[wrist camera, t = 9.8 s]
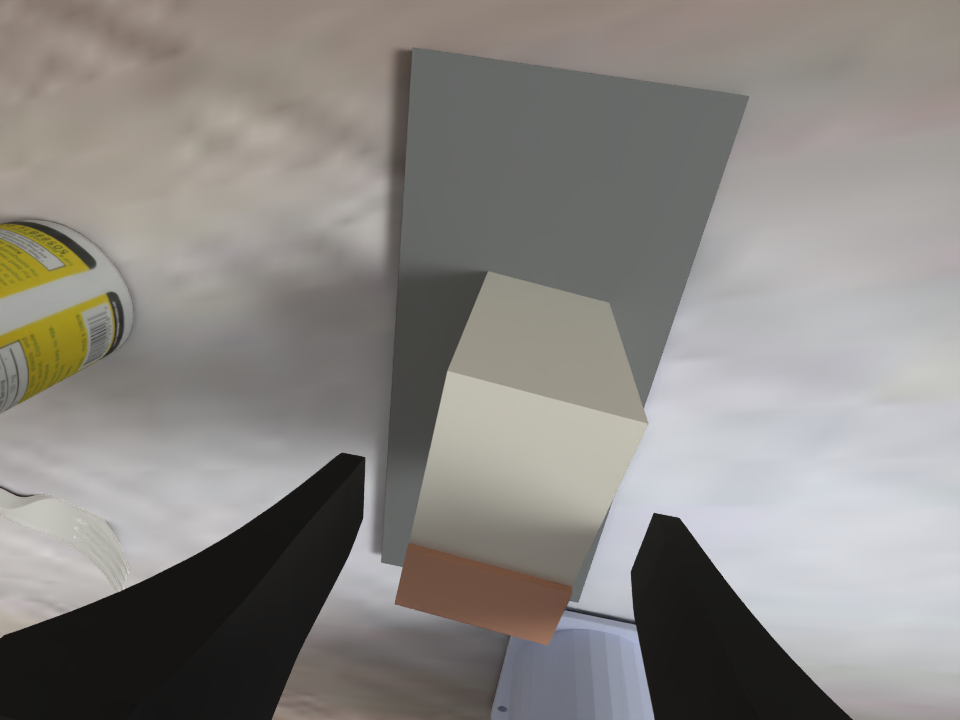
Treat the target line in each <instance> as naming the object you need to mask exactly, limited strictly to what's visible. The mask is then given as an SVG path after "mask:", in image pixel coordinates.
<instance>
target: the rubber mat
mask: <svg viewBox="0 0 960 720" xmlns="http://www.w3.org/2000/svg"><path fill="white" fill-rule="evenodd" d="M748 99H749V96H744V95H737V94H730V93H723V92H716V91H709V90H703V89H696V88H689V87H682V86H675V85H668V84H661V83H654V82H647V81H640V80H633V79H627V78H620V77H613V76H606V75H599V74H592V73H585V72H578V71H571V70H564V69H557V68H551V67H544V66H537V65H530V64H523V63H516V62H509V61H502V60H495V59H488V58H481V57H475V56H468V55H461V54H454V53H447V52H440V51H433V50H426V49H419V48H412V62H411V79H410V95H409V112H408V128H407V145H406V161H405V178H404V194H403V211H402V227H401V244H400V261H399V277H398V294H397V310H396V327H395V343H394V360H393V376H392V393H391V409H390V426H389V443H388V459H387V476H386V492H385V509H384V525H383V542H382V558H381V563H386V564H391V565H396V566H401V567H403V564H404V560H405V555H406V551H407V547H408V544H409V541H410V536H411V532H412V527H413V523H414V518H415V514H416V509H417V505H418V500H419V496H420V491H421V487H422V482H423V478H424V473H425V469H426V465H427V460H428V456H429V451H430V447H431V442H432V438H433V433H434V429H435V424H436V420H437V415H438V411H439V406H440V402H441V397H442V393H443V389H444V384H445V380H446V375H447V371H448V368H449V366H450V363H451V361H452V358H453V356H454V354H455V351H456V349H457V346H458V344H459V341H460V339H461V336H462V334H463V331H464V329H465V327H466V324H467V322H468V319H469V317H470V314H471V312H472V309H473V307H474V305H475V302H476V300H477V297H478V295H479V292H480V290H481V287H482V285H483V282H484V280H485V278H486V275H487V273H488V271H489V272H493V273H497V274H501V275H505V276H508V277H512V278H516V279H520V280H524V281H528V282H531V283H535V284H539V285H543V286H547V287H551V288H554V289H558V290H562V291H566V292H570V293H574V294H577V295H581V296H585V297H589V298H593V299H597V300H601V301H604V302H608V303H609V304H610V307H611V310H612V313H613V316H614V319H615V322H616V325H617V328H618V331H619V334H620V338H621V341H622V344H623V347H624V350H625V353H626V356H627V359H628V362H629V365H630V368H631V372H632V375H633V378H634V381H635V384H636V387H637V390H638V393H639V396H640V399H641V402H642V406H643V409H644V406H645V403H646V400H647V397H648V395H649V392H650V389H651V386H652V383H653V380H654V377H655V374H656V371H657V368H658V365H659V362H660V359H661V356H662V353H663V350H664V347H665V344H666V341H667V338H668V335H669V332H670V329H671V327H672V324H673V321H674V318H675V315H676V312H677V309H678V306H679V303H680V300H681V297H682V294H683V291H684V288H685V285H686V282H687V279H688V276H689V273H690V270H691V267H692V264H693V261H694V259H695V256H696V253H697V250H698V247H699V244H700V241H701V238H702V235H703V232H704V229H705V226H706V223H707V220H708V217H709V214H710V211H711V208H712V205H713V202H714V199H715V196H716V193H717V190H718V188H719V185H720V182H721V179H722V176H723V173H724V170H725V167H726V164H727V161H728V158H729V155H730V152H731V149H732V146H733V143H734V140H735V137H736V134H737V131H738V128H739V125H740V122H741V120H742V117H743V114H744V111H745V108H746V105H747V102H748ZM611 504H612V503H611ZM610 507H611V505H610ZM610 507H609V509H608V511H607V513H606V515H605V518H604V520H603V522H602V524H601V526H600V528H599V530H598V533H597V535H596V537H595V539H594V541H593V543H592V545H591V547H590V550H589V552H588V554H587V556H586V558H585V560H584V562H583V565H582V567H581V569H580V571H579V573H578V575H577V577H576V579H575V582H574V584H573V586H572V596H571V598H570V600H569V601H573V602H579V599H580V596H581V593H582V590H583V587H584V584H585V581H586V578H587V575H588V572H589V569H590V566H591V563H592V560H593V557H594V554H595V551H596V548H597V545H598V542H599V539H600V536H601V534H602V531H603V528H604V525H605V522H606V519H607V516H608V513H609V510H610Z"/></svg>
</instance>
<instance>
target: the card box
mask: <svg viewBox="0 0 960 720" xmlns="http://www.w3.org/2000/svg"><path fill="white" fill-rule="evenodd" d="M647 426H648V421H647V418H646V415H645V412H644V409H643V406H642V402H641V399H640V396H639V393H638V390H637V387H636V384H635V381H634V378H633V375H632V372H631V368H630V365H629V362H628V359H627V356H626V353H625V350H624V347H623V344H622V341H621V338H620V334H619V331H618V328H617V325H616V322H615V319H614V316H613V313H612V310H611V307H610V304H609V303H608V302H604V301H601V300H597V299H593V298H589V297H585V296H581V295H577V294H574V293H570V292H566V291H562V290H558V289H554V288H551V287H547V286H543V285H539V284H535V283H531V282H528V281H524V280H520V279H516V278H512V277H508V276H505V275H501V274H497V273H493V272H489V271H488V273H487V275H486V278H485V280H484V282H483V285H482V287H481V290H480V292H479V295H478V297H477V300H476V302H475V305H474V307H473V309H472V312H471V314H470V317H469V319H468V322H467V324H466V327H465V329H464V331H463V334H462V336H461V339H460V341H459V344H458V346H457V349H456V351H455V354H454V356H453V358H452V361H451V363H450V366H449V368H448V371H447V375H446V380H445V384H444V389H443V393H442V397H441V402H440V406H439V411H438V415H437V420H436V424H435V429H434V433H433V438H432V442H431V447H430V451H429V456H428V460H427V465H426V469H425V473H424V478H423V482H422V487H421V491H420V496H419V500H418V505H417V509H416V514H415V518H414V523H413V527H412V532H411V536H410V541H409V544H408V547H407V551H406V555H405V560H404V564H403V569H402V573H401V578H400V582H399V587H398V591H397V596H396V600H395V604H396V605H400V606H404V607H407V608H411V609H415V610H418V611H422V612H426V613H429V614H433V615H437V616H441V617H444V618H448V619H452V620H455V621H459V622H463V623H466V624H470V625H474V626H478V627H481V628H485V629H489V630H492V631H496V632H500V633H503V634H507V635H511V636H514V637H518V638H522V639H526V640H529V641H533V642H537V643H540V644H544V645H549V642H550V640H551V638H552V636H553V634H554V632H555V630H556V628H557V626H558V623H559V621H560V619H561V617H562V615H563V613H564V611H565V609H566V607H567V604H568V602H569V600H570V598H571V596H572V586H573V584H574V582H575V579H576V577H577V575H578V573H579V571H580V569H581V567H582V565H583V562H584V560H585V558H586V556H587V554H588V552H589V550H590V547H591V545H592V543H593V541H594V539H595V537H596V535H597V533H598V530H599V528H600V526H601V524H602V522H603V520H604V518H605V515H606V513H607V511H608V509H609V507H610V505H611V503H612V501H613V498H614V496H615V494H616V492H617V490H618V488H619V486H620V483H621V481H622V479H623V477H624V475H625V473H626V471H627V469H628V466H629V464H630V462H631V460H632V458H633V456H634V454H635V451H636V449H637V447H638V445H639V443H640V441H641V439H642V437H643V434H644V432H645V430H646V428H647Z"/></svg>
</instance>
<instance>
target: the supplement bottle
mask: <svg viewBox="0 0 960 720" xmlns="http://www.w3.org/2000/svg"><path fill="white" fill-rule="evenodd" d="M132 324H133V305H132V300H131V297H130V294H129V291H128V288H127V286H126V284H125V282H124V280H123V278H122V276H121V275H120V273H119V272H118V270H117V269H116V267H115V266H114V265H113V263H112V262H111V261H110V259H109V258H108V257H107V256H106V255H105V254H104V253H103V252H102V251H101V250H100V249H99V248H98V247H97V246H95V245H94V244H93V243H92V242H91V241H89V240H88V239H87V238H85V237H84V236H82V235H81V234H79V233H77V232H76V231H74V230H72V229H70V228H67V227H65V226H63V225H60V224H57V223H53V222H49V221H42V220H23V221H15V222H9V223H4V224H0V413H2V412H4V411H6V410H8V409H10V408H12V407H14V406H15V405H17V404H19V403H21V402H23V401H25V400H27V399H29V398H30V397H32V396H34V395H36V394H38V393H40V392H41V391H43V390H45V389H47V388H49V387H51V386H53V385H54V384H56V383H58V382H60V381H62V380H64V379H65V378H67V377H69V376H71V375H73V374H75V373H77V372H79V371H80V370H82V369H84V368H86V367H88V366H90V365H91V364H93V363H95V362H96V361H98V360H100V359H102V358H104V357H106V356H107V355H109V354H110V353H112V352H113V351H115V350H116V349H118V348H119V347H120V346H121V345H122V344H123V343H124V342H125V340H126V339H127V337H128V336H129V334H130V331H131V328H132Z"/></svg>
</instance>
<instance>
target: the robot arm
mask: <svg viewBox="0 0 960 720" xmlns="http://www.w3.org/2000/svg"><path fill="white" fill-rule="evenodd" d="M364 482H365V457H362V456H357V455H352V454H347V453H341V454H339V455H338V456H336V457H335V458H334V459H333V460H331V461H330V462H329V463H328V464H326V465H325V466H324V467H323V468H321V469H320V470H319V471H318V472H316V473H315V474H314V475H313V476H311V477H310V478H309V479H308V480H306V481H305V482H304V483H303V484H301V485H300V486H299V487H297V488H296V489H295V490H293V491H292V492H291V493H289V494H288V495H287V496H285V497H284V498H283V499H281V500H280V501H279V502H277V503H276V504H275V505H273V506H272V507H270V508H269V509H268V510H266V511H265V512H263V513H262V514H260V515H259V516H257V517H256V518H254V519H253V520H251V521H250V522H248V523H247V524H246V525H244V526H243V527H241V528H240V529H238V530H236V531H235V532H233V533H232V534H230V535H228V536H227V537H225V538H224V539H222V540H220V541H219V542H217V543H215V544H213V545H212V546H210V547H208V548H206V549H205V550H203V551H201V552H200V553H198V554H196V555H194V556H192V557H190V558H188V559H186V560H184V561H182V562H181V563H179V564H177V565H175V566H173V567H171V568H169V569H167V570H165V571H163V572H161V573H159V574H157V575H155V576H153V577H151V578H149V579H146V580H144V581H142V582H140V583H138V584H136V585H133V586H131V587H129V588H127V589H124V590H122V591H120V592H118V593H115V594H113V595H110V596H108V597H106V598H103V599H101V600H98V601H96V602H94V603H91V604H89V605H86V606H84V607H81V608H79V609H76V610H73V611H71V612H68V613H65V614H63V615H60V616H57V617H54V618H52V619H49V620H46V621H43V622H41V623H38V624H35V625H32V626H30V627H27V628H24V629H21V630H18V631H15V632H12V633H9V634H7V635H4V636H3V637H2V638H0V720H272V717H273V715H274V712H275V709H276V707H277V704H278V702H279V700H280V697H281V695H282V692H283V690H284V687H285V685H286V683H287V680H288V678H289V675H290V673H291V670H292V668H293V666H294V663H295V661H296V658H297V656H298V654H299V652H300V650H301V648H302V646H303V644H304V642H305V639H306V638H307V636H308V634H309V632H310V630H311V628H312V626H313V624H314V622H315V620H316V618H317V616H318V615H319V613H320V611H321V609H322V607H323V605H324V603H325V601H326V599H327V597H328V595H329V593H330V592H331V590H332V588H333V586H334V584H335V582H336V580H337V578H338V576H339V574H340V572H341V570H342V568H343V566H344V564H345V562H346V560H347V558H348V557H349V554H350V552H351V549H352V547H353V544H354V541H355V539H356V536H357V533H358V531H359V528H360V525H361V523H362V520H363V509H364ZM631 583H632V598H633V610H634V617H635V623H636V625H634V624H629V623H624V622H620V621H615V620H610V619H605V618H600V617H595V616H590V615H585V614H580V613H576V612H571V611H566V610H565V611H564V613H563V615H562V617H561V619H560V621H559V623H558V626H557V628H556V630H555V632H554V634H553V636H552V638H551V640H550V642H549V645H544V644H540V643H537V642H533V641H529V640H526V639H522V638H518V637H514V636H511V635H510V639H509V643H508V647H507V651H506V654H505V658H504V662H503V666H502V670H501V674H500V678H499V682H498V686H497V690H496V694H495V698H494V701H493V705H492V709H491V720H853V719H852V718H850V717H849V716H848V715H847V714H846V713H845V712H844V711H843V710H842V709H841V708H840V707H839V706H838V705H837V704H836V703H835V702H833V701H832V700H831V699H830V698H829V697H828V696H827V695H826V694H825V693H824V692H823V691H822V690H821V689H820V688H819V687H818V686H817V685H816V684H815V683H814V682H813V681H812V679H811V678H810V677H809V676H808V675H807V674H806V673H805V672H804V671H803V670H802V669H801V668H800V667H799V666H798V665H797V664H796V663H795V662H794V661H793V660H792V659H791V658H790V656H789V655H788V654H787V653H786V652H785V651H784V650H783V649H782V648H781V647H780V645H779V644H778V643H777V642H776V641H775V640H774V639H773V638H772V636H771V635H770V634H769V633H768V632H767V631H766V629H765V628H764V627H763V626H762V625H761V623H760V622H759V621H758V620H757V619H756V618H755V616H754V615H753V614H752V613H751V612H750V610H749V609H748V608H747V607H746V605H745V604H744V603H743V602H742V601H741V599H740V598H739V597H738V596H737V594H736V593H735V592H734V590H733V589H732V588H731V587H730V585H729V584H728V583H727V581H726V580H725V579H724V578H723V576H722V575H721V574H720V572H719V571H718V570H717V568H716V567H715V566H714V564H713V563H712V562H711V560H710V559H709V557H708V556H707V555H706V553H705V552H704V551H703V549H702V548H701V547H700V545H699V544H698V542H697V541H696V540H695V538H694V537H693V536H692V534H691V533H690V532H689V530H688V529H687V527H686V526H685V525H684V523H683V522H682V521H681V519H680V518H677V517H672V516H667V515H662V514H657V513H654V514H653V516H652V519H651V521H650V524H649V527H648V529H647V532H646V534H645V537H644V539H643V542H642V544H641V547H640V550H639V552H638V555H637V557H636V560H635V562H634V565H633V567H632V570H631Z"/></svg>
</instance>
